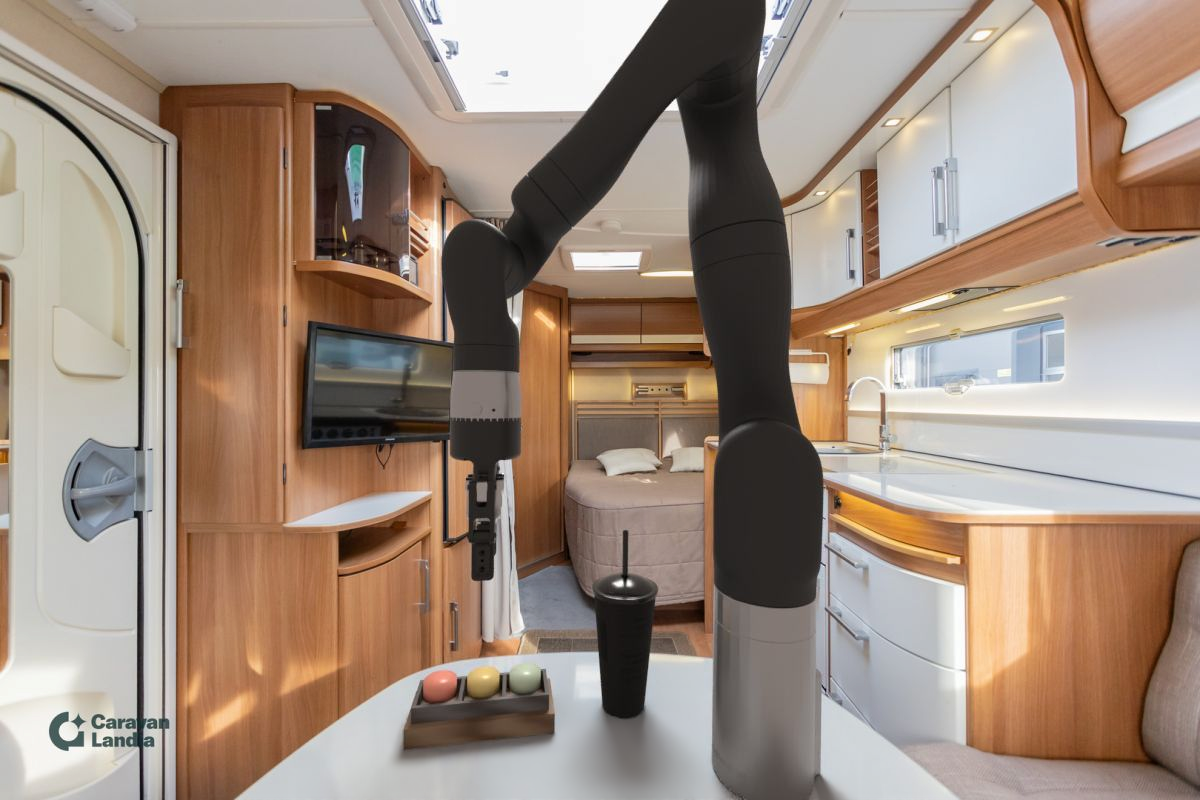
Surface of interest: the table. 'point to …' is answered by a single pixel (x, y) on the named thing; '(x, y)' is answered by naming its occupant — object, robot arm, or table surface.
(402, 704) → the table surface
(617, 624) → the drinking cup
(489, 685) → the button ochre
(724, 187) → the robot arm
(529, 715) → the toy traffic light
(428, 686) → the button coral
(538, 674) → the button sage
